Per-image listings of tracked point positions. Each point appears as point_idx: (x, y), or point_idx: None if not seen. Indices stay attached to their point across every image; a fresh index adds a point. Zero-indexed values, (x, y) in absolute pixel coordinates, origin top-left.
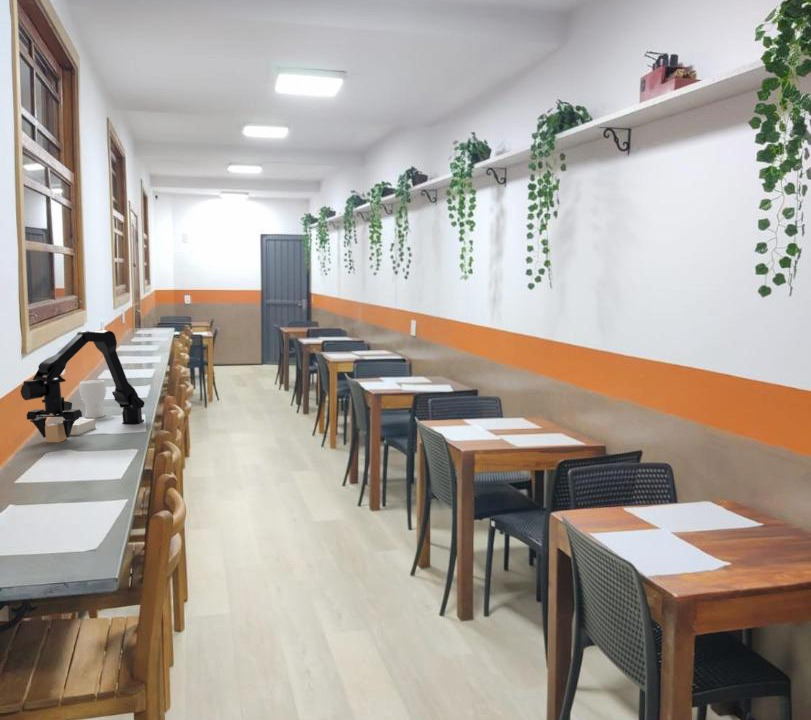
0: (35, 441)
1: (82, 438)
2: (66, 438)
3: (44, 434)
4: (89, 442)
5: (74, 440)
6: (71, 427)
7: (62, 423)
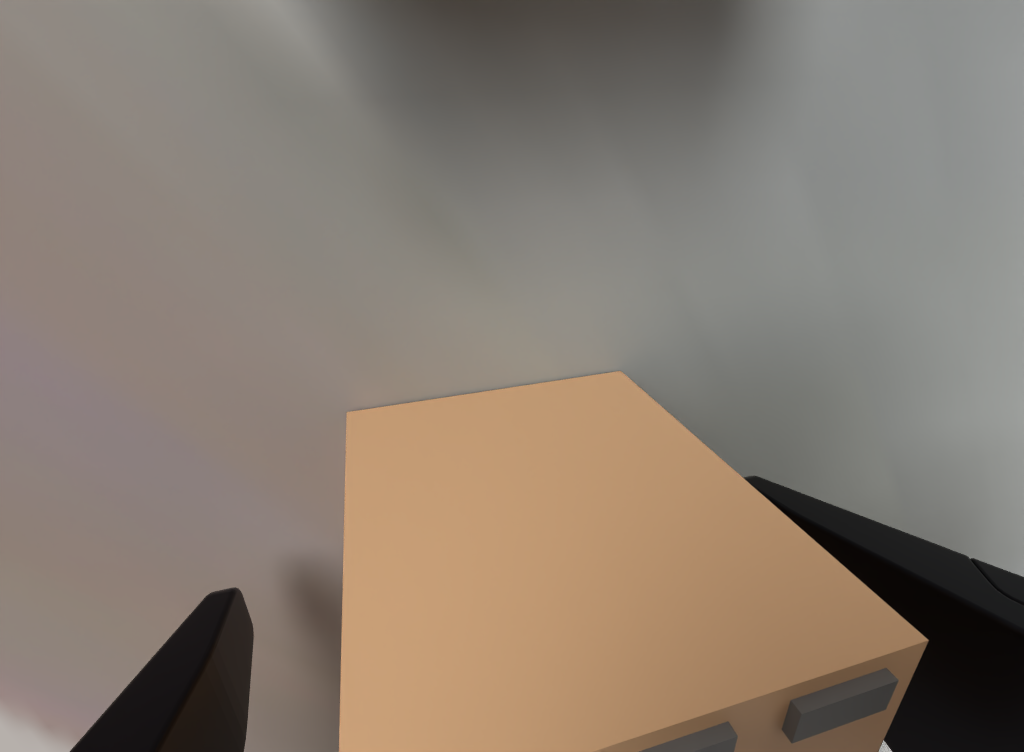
0: (70, 641)
1: (863, 266)
2: (626, 390)
3: (239, 691)
4: (994, 458)
5: (782, 413)
6: (995, 589)
7: (835, 714)
